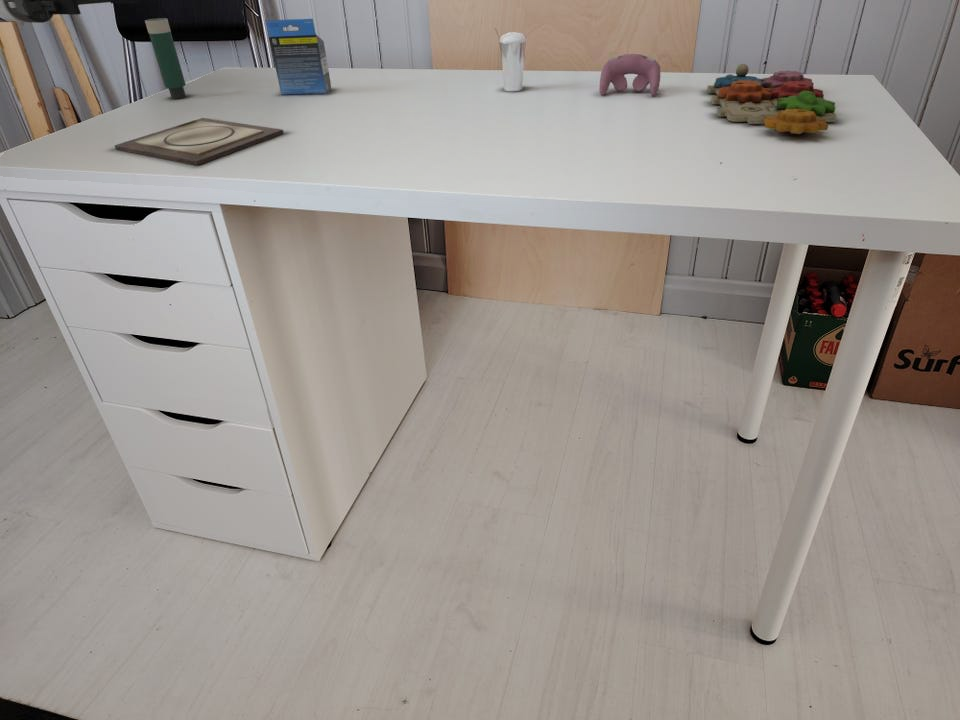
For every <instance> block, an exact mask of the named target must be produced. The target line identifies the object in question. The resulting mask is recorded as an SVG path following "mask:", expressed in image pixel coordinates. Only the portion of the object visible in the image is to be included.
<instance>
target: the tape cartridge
mask: <svg viewBox="0 0 960 720" xmlns="http://www.w3.org/2000/svg"><path fill="white" fill-rule="evenodd" d="M264 22H265V26H266V30H267V34H268V40H269V44H270V49H271V53H272V58H273V63H274V67H275V72H276V73H275V74H276V77H277V82H278V87H279V91H280V95H281V96H285V95H288V96H289V95H308V94H309V95H310V94H311V95H313V94H317V95H319V94H323V95H326V94H327V93H329V92H330V91H331V90H332V83H331V77H330V71H329V64H328V58H327V53H326V47H325V42H324V40H323V39H322V38H321V37H319V35H317V33H316V28H315V24H314V18H293V19H292V18H291V19H266V20H264ZM289 26H291V27H292V28H298V29H297V30H284V28H288V27H289Z"/></svg>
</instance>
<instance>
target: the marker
mask: <svg viewBox="0 0 960 720" xmlns="http://www.w3.org/2000/svg"><path fill="white" fill-rule="evenodd" d="M144 23H145V26H146V29H147V33H148V35H149V39H150V42H151V45H152V48H153V51H154V55H155V59H156V62H157V64H158V68H159V71H160V75H161V78H162V82H163V85H164V88H166V89H168V92H169V95H170V98H171V99H172V100H179V99H181V100H182V99H185V98H186V97H187V95H186V91H185V88H184V87H185V86H186V85H187V84H186V80H185V77H184V74H183V70H182V67H181V63H180V59H179V56H178V53H177V49H176V45H175V42H174V38H173V35H172V30H171V26H170V23H169V20H168V18H167V17H157V18H149V19H146V20H144Z"/></svg>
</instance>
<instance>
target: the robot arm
mask: <svg viewBox="0 0 960 720" xmlns="http://www.w3.org/2000/svg"><path fill="white" fill-rule="evenodd" d="M106 3H110V4H123V5H125V4H132V5H133V4H136V5H137V4H141V0H0V23H17V24H18V26H21V27H22V26H25V23H29V24H30V23H32V24H33V23H34V24H35V23H36V24H37V23H38V24H39V23H41V24H43V23H47V22H49V21H50V20H51V19H52V18H53V16H54V15H82V13H81V10H80V7H79V5H81V6H82V5H93V4H106Z"/></svg>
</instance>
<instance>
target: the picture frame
mask: <svg viewBox="0 0 960 720" xmlns="http://www.w3.org/2000/svg"><path fill="white" fill-rule="evenodd" d="M283 134H284V129H282V128H275V127H269V126H260V125H253V124H249V123H248V124H247V123H240V122H234V121H227V120H220V119H213V118H206V117H201V118H197V119H194V120H191V121H188V122H185V123H181V124H178V125H176V126H173V127H169V128H166V129H162V130H159V131H156V132H153V133H150V134H146V135H143V136H140V137H136V138H133V139H130V140H127V141H124V142H123V141H122V142H120V143H117V144H115V145H114V148H115V150H117V151H122V152H127V153H132V154H137V155H144V156H148V157H152V158H158V159H164V160H167V161H173V162H179V163H183V164H188V165H194V166H201V165H203V164H206V163H208V162H211V161H214V160H217V159H219V158H221V157H224V156H228V155H230V154H233V153H236V152H238V151H241V150H243V149H246V148H248V147H252V146H254V145H256V144H259V143H263V142H265V141H268V140H270V139H273V138H276V137H278V136H281V135H283Z"/></svg>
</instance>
